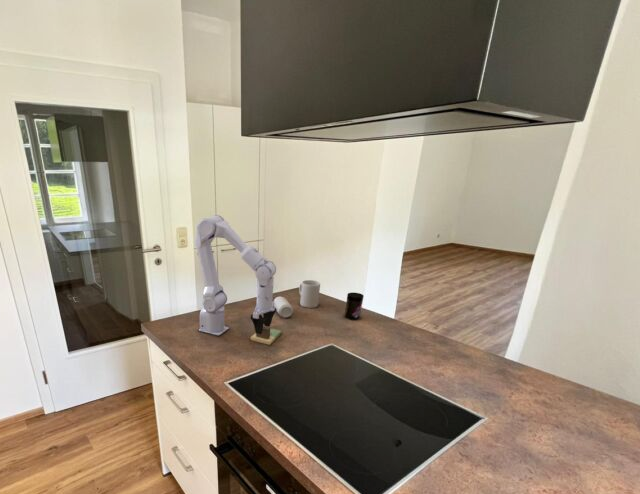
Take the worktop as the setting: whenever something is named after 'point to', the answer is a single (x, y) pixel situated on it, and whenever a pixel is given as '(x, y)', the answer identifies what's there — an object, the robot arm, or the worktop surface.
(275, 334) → the notch pad
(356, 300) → the supplement container
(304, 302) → the mug
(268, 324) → the robot arm
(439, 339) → the worktop surface
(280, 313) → the beverage can
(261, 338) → the tab pad
